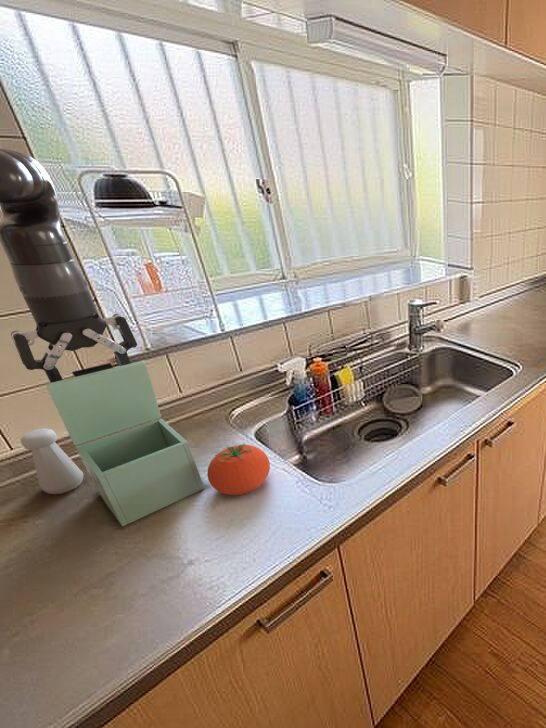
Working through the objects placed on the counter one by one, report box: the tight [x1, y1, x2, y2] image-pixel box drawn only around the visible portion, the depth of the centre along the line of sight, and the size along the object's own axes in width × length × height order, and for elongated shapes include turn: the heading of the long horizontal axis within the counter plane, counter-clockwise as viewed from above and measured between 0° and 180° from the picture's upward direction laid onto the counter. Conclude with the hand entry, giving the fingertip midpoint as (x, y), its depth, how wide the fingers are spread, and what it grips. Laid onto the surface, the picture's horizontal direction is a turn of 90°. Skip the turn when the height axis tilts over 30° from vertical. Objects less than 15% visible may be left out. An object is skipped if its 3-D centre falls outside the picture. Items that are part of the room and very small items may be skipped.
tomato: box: [206, 443, 271, 496], centre depth 81 cm, size 10×10×10 cm
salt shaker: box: [19, 427, 84, 495], centre depth 78 cm, size 6×6×13 cm
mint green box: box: [75, 418, 205, 527], centre depth 78 cm, size 13×13×12 cm
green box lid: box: [44, 360, 162, 447], centre depth 75 cm, size 13×13×5 cm
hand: (95, 378), depth 75 cm, fingers open, 8 cm apart
